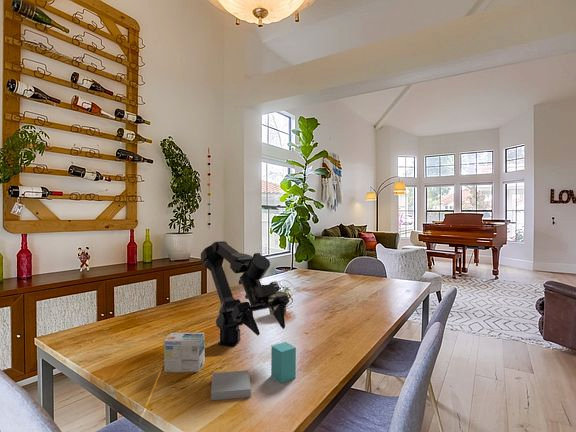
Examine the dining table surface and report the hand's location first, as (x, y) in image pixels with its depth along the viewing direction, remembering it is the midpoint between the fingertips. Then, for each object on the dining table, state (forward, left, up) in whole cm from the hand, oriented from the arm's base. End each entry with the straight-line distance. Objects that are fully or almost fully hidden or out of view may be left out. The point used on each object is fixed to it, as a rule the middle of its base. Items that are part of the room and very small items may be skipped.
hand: (271, 331), depth 99 cm
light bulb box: (-26, -5, -13) cm, 29 cm away
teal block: (+5, -4, -12) cm, 14 cm away
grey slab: (-8, -13, -11) cm, 19 cm away
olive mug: (-10, +52, -13) cm, 54 cm away
